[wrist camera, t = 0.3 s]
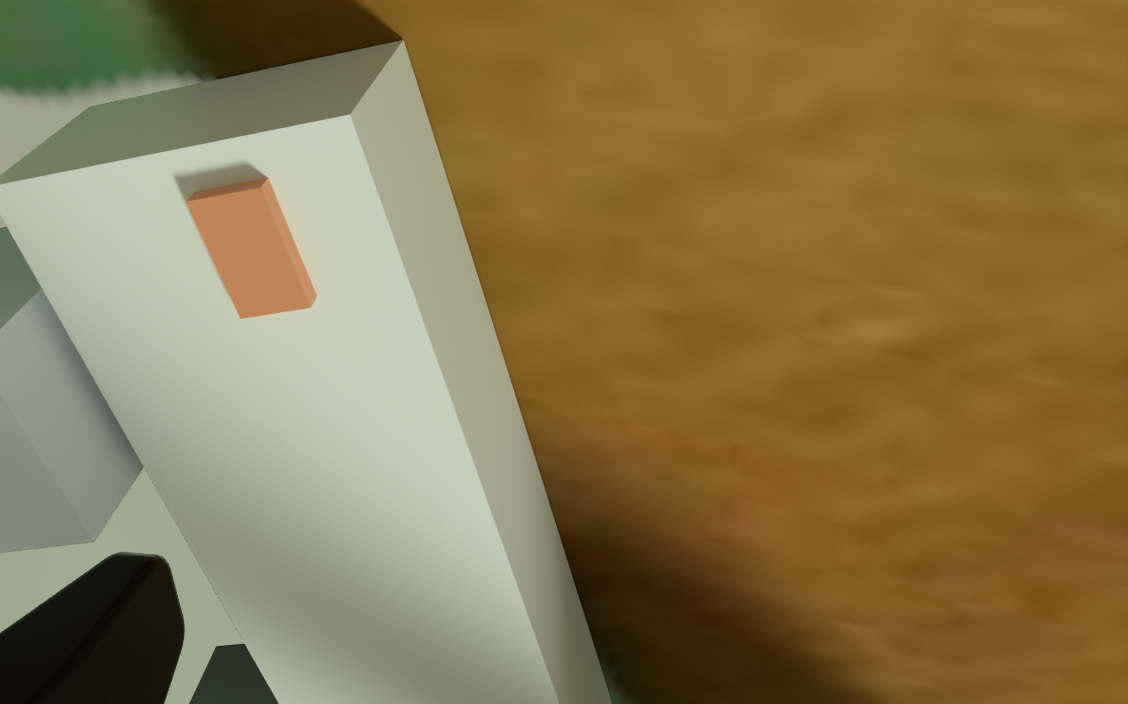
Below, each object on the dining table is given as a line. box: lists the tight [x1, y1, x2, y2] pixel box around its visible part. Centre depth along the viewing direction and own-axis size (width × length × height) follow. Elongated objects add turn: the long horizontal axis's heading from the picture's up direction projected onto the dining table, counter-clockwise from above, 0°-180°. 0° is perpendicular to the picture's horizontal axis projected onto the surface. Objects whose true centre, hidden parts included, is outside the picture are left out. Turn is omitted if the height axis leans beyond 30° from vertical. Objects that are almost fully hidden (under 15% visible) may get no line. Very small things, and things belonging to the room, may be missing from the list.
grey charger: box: [0, 227, 144, 553], centre depth 22 cm, size 4×6×6 cm
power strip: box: [0, 40, 612, 704], centre depth 25 cm, size 22×7×4 cm, turn 13°
